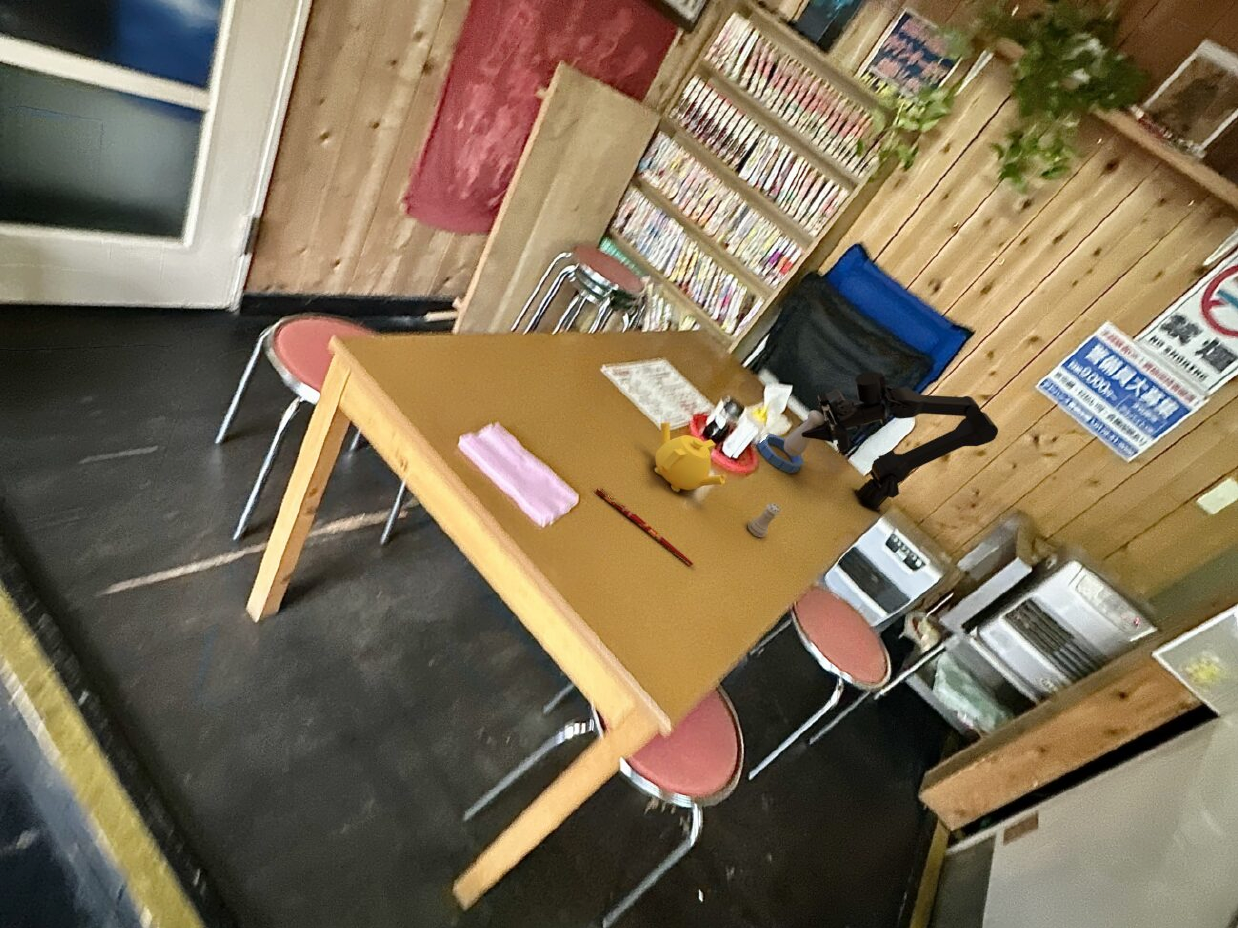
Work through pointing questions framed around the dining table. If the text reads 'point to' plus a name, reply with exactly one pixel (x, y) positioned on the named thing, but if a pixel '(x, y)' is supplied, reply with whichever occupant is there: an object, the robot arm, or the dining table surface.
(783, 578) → the dining table surface
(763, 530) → the rook chess piece
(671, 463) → the teapot
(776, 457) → the tape roll
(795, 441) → the salt shaker
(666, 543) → the chopstick
